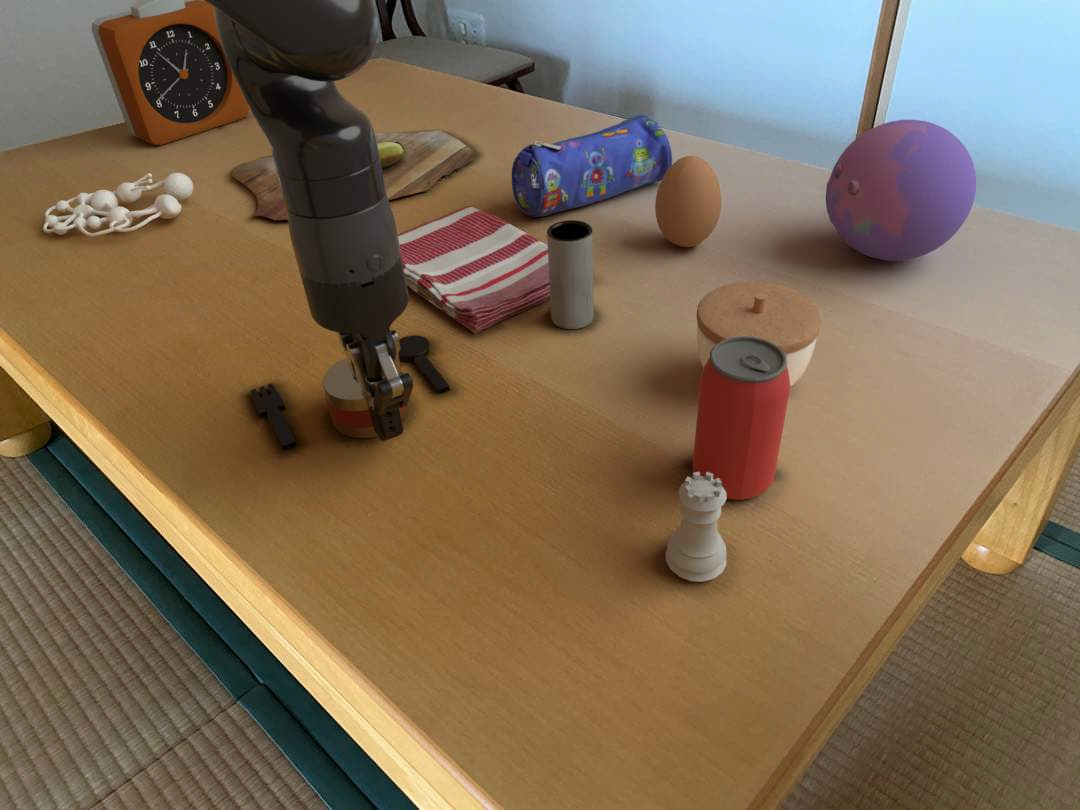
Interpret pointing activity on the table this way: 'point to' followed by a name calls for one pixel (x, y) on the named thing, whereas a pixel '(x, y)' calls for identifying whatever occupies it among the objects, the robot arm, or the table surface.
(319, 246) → the robot arm
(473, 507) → the table surface
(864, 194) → the decorative ball
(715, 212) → the egg
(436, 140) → the cutting board
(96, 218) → the tangled rod sculpture
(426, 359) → the spoon
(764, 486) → the beer can
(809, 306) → the trinket box
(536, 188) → the pencil case
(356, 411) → the tin can
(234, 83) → the alarm clock
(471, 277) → the dish towel
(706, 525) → the rook chess piece
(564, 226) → the grey hollow cylinder
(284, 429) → the fork
